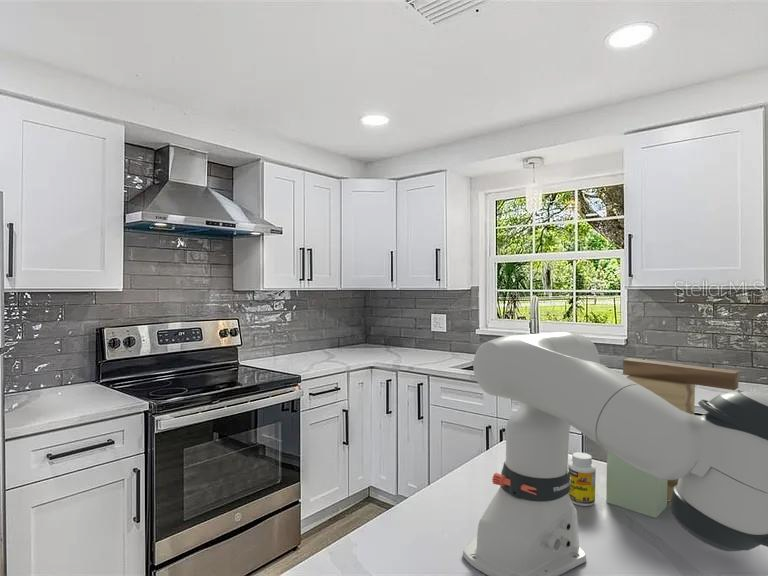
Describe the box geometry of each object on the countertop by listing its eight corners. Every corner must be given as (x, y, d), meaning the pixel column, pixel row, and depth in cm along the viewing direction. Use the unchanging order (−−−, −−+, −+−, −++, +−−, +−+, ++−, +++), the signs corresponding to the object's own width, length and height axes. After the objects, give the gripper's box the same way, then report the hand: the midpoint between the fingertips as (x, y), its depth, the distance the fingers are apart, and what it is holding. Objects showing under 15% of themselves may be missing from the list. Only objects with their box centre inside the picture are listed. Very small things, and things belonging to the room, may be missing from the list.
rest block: (656, 518, 102) (657, 426, 101) (606, 502, 109) (607, 416, 108) (666, 506, 106) (668, 419, 106) (618, 492, 114) (619, 409, 113)
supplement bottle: (563, 501, 109) (564, 455, 109) (573, 493, 113) (574, 448, 113) (589, 510, 105) (590, 462, 105) (599, 501, 109) (599, 455, 109)
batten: (734, 390, 102) (735, 373, 102) (622, 374, 118) (623, 359, 118) (738, 387, 105) (738, 371, 104) (628, 372, 120) (628, 357, 120)
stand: (682, 504, 107) (684, 385, 107) (624, 487, 116) (626, 376, 115) (692, 493, 113) (694, 379, 112) (636, 477, 122) (638, 371, 121)
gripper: (820, 480, 87) (738, 425, 95) (829, 450, 101) (757, 405, 110) (846, 454, 84) (760, 400, 93) (851, 427, 99) (776, 383, 107)
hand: (759, 402), depth 101 cm, fingers open, 8 cm apart
